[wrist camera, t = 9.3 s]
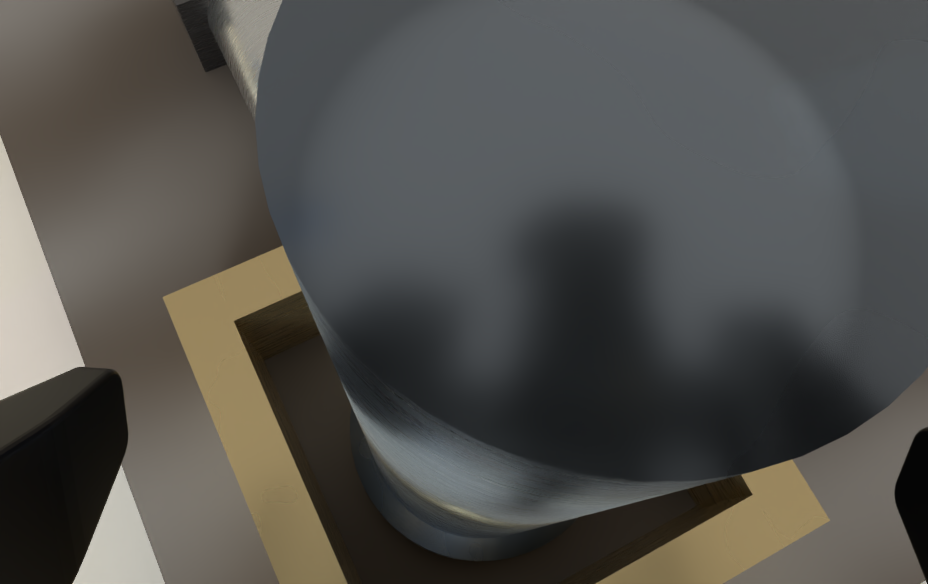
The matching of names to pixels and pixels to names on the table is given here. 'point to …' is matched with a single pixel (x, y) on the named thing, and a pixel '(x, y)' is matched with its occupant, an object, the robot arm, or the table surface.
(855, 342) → the steel coupler
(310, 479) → the socket
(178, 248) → the shaft board
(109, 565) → the table surface
